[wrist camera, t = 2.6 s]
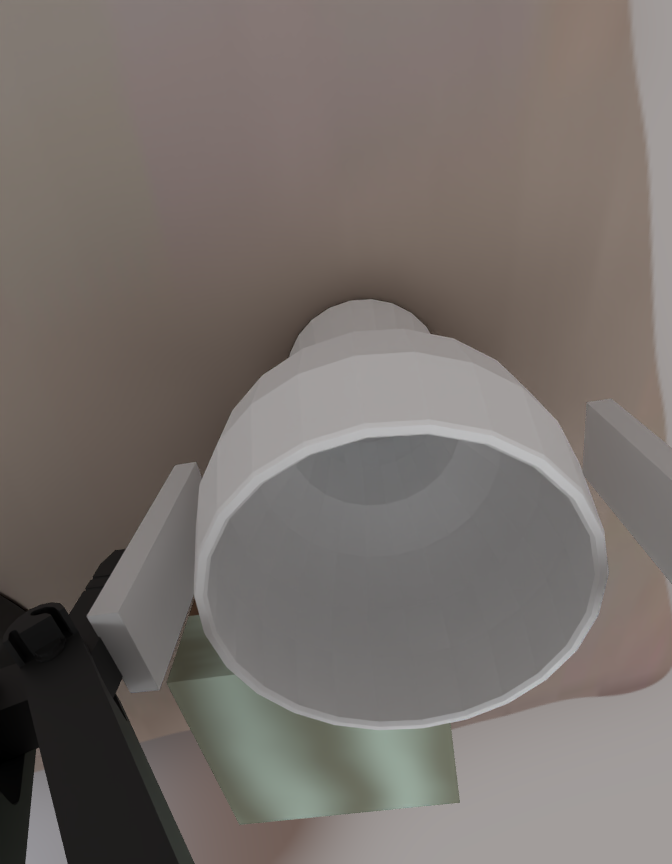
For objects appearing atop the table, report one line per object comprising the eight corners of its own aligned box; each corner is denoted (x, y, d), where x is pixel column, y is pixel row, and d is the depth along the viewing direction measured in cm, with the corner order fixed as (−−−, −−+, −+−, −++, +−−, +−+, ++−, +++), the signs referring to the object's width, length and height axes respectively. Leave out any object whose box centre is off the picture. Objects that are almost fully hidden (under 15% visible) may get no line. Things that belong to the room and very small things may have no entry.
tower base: (258, 697, 36) (239, 824, 29) (206, 565, 30) (166, 682, 23) (434, 676, 35) (459, 802, 28) (415, 534, 29) (441, 648, 22)
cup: (460, 244, 22) (660, 343, 8) (476, 448, 27) (621, 717, 13) (232, 292, 23) (87, 449, 9) (287, 481, 28) (242, 764, 14)
